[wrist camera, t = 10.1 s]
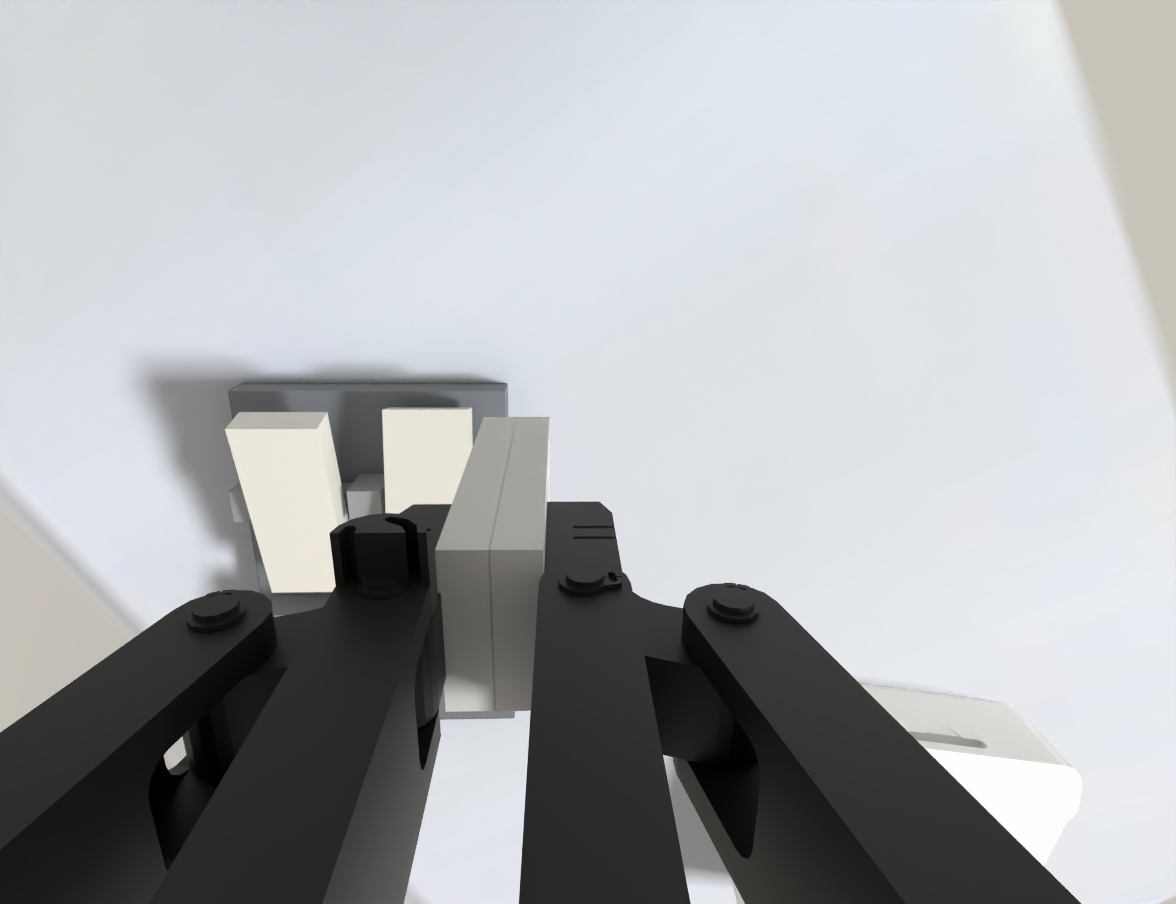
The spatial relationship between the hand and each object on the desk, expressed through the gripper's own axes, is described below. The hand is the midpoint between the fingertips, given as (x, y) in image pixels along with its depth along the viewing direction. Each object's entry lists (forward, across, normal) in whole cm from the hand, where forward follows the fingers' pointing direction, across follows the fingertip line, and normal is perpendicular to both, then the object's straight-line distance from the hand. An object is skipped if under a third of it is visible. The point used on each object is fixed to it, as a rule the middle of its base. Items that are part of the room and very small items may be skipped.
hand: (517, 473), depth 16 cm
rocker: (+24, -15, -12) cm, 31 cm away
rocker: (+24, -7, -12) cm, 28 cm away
